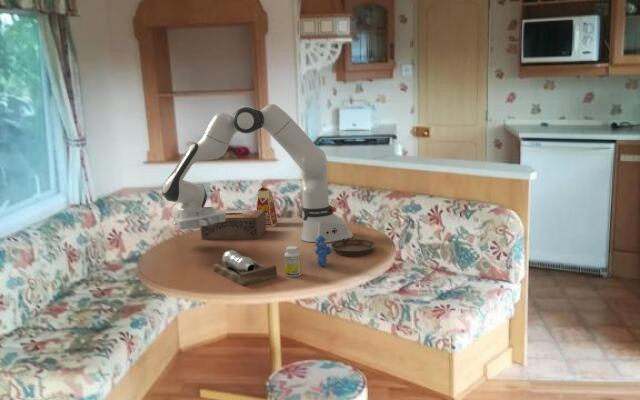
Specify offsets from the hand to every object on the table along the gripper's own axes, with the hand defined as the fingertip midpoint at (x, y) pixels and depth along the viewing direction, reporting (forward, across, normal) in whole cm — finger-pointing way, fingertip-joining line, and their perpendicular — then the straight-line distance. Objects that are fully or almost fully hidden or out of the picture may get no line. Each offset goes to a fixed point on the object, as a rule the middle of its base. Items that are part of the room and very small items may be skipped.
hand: (209, 223), depth 246 cm
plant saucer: (+32, +46, +15) cm, 58 cm away
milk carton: (-32, +44, +15) cm, 56 cm away
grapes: (+40, +26, +15) cm, 50 cm away
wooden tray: (+27, 0, +14) cm, 30 cm away
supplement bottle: (+40, +12, +15) cm, 45 cm away
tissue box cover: (-26, +24, +15) cm, 38 cm away
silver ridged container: (+14, 0, +11) cm, 18 cm away
